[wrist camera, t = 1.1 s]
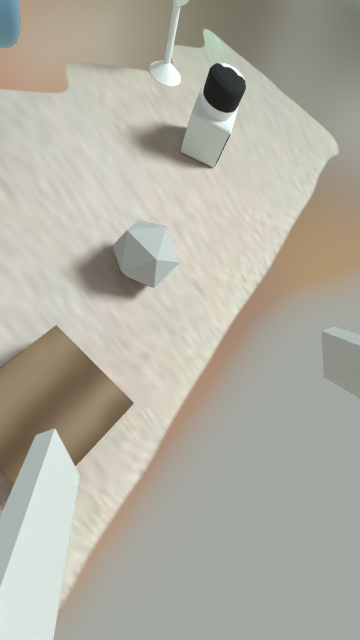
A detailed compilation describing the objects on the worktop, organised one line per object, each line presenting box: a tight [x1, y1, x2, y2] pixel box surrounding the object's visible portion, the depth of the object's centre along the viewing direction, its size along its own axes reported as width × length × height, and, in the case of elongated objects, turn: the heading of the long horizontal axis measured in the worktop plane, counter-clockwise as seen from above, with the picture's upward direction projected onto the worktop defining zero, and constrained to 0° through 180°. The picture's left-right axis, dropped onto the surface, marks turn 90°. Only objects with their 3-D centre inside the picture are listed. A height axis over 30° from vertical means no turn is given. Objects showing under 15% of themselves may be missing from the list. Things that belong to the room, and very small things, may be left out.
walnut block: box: [0, 325, 134, 484], centre depth 27 cm, size 12×12×6 cm
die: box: [113, 220, 180, 288], centre depth 33 cm, size 8×9×10 cm
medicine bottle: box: [181, 63, 246, 168], centre depth 41 cm, size 7×7×12 cm
